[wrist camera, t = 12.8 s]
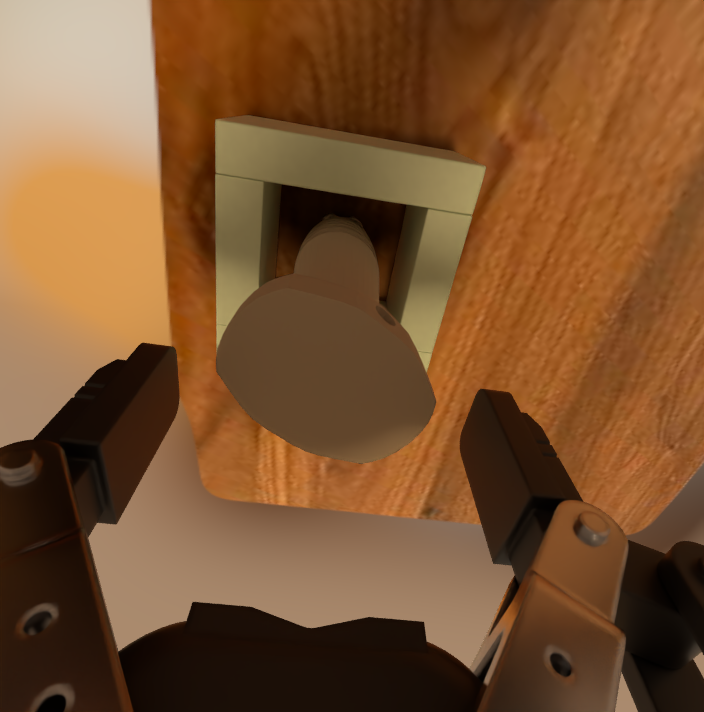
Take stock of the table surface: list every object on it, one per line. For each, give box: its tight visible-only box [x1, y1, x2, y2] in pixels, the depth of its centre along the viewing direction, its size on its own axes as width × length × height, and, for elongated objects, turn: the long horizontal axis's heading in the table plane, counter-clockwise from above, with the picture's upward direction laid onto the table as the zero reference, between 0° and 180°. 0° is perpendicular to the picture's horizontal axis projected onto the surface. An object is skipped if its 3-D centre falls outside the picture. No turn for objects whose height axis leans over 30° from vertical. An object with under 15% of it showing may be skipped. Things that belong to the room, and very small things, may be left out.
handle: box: [216, 213, 436, 464], centre depth 18 cm, size 5×6×15 cm
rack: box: [215, 115, 486, 373], centre depth 22 cm, size 11×11×6 cm
